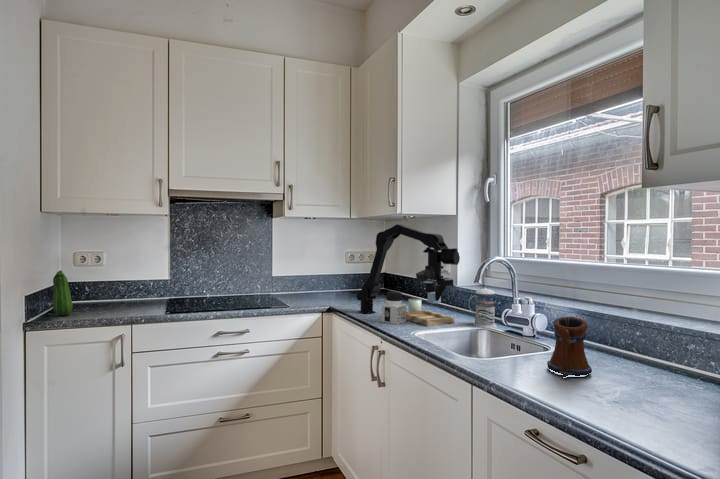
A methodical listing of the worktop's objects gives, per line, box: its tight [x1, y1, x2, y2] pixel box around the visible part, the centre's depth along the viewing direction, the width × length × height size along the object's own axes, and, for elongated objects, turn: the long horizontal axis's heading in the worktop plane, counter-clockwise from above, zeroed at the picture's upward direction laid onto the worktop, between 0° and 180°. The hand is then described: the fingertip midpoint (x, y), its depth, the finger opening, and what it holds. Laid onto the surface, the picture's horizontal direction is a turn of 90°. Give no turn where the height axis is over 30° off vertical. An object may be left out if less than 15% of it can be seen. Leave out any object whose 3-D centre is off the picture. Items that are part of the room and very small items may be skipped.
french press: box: [468, 267, 498, 329], centre depth 187 cm, size 10×12×25 cm
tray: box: [406, 309, 455, 327], centre depth 195 cm, size 20×14×2 cm
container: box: [381, 290, 407, 325], centre depth 191 cm, size 8×8×13 cm
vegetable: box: [52, 270, 74, 317], centre depth 195 cm, size 7×7×20 cm
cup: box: [407, 298, 422, 312], centre depth 208 cm, size 6×6×7 cm
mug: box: [546, 316, 593, 377], centre depth 123 cm, size 18×12×15 cm, turn 146°
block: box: [427, 291, 442, 304], centre depth 191 cm, size 4×4×4 cm
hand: (433, 300), depth 191 cm, fingers closed on block, 4 cm apart
